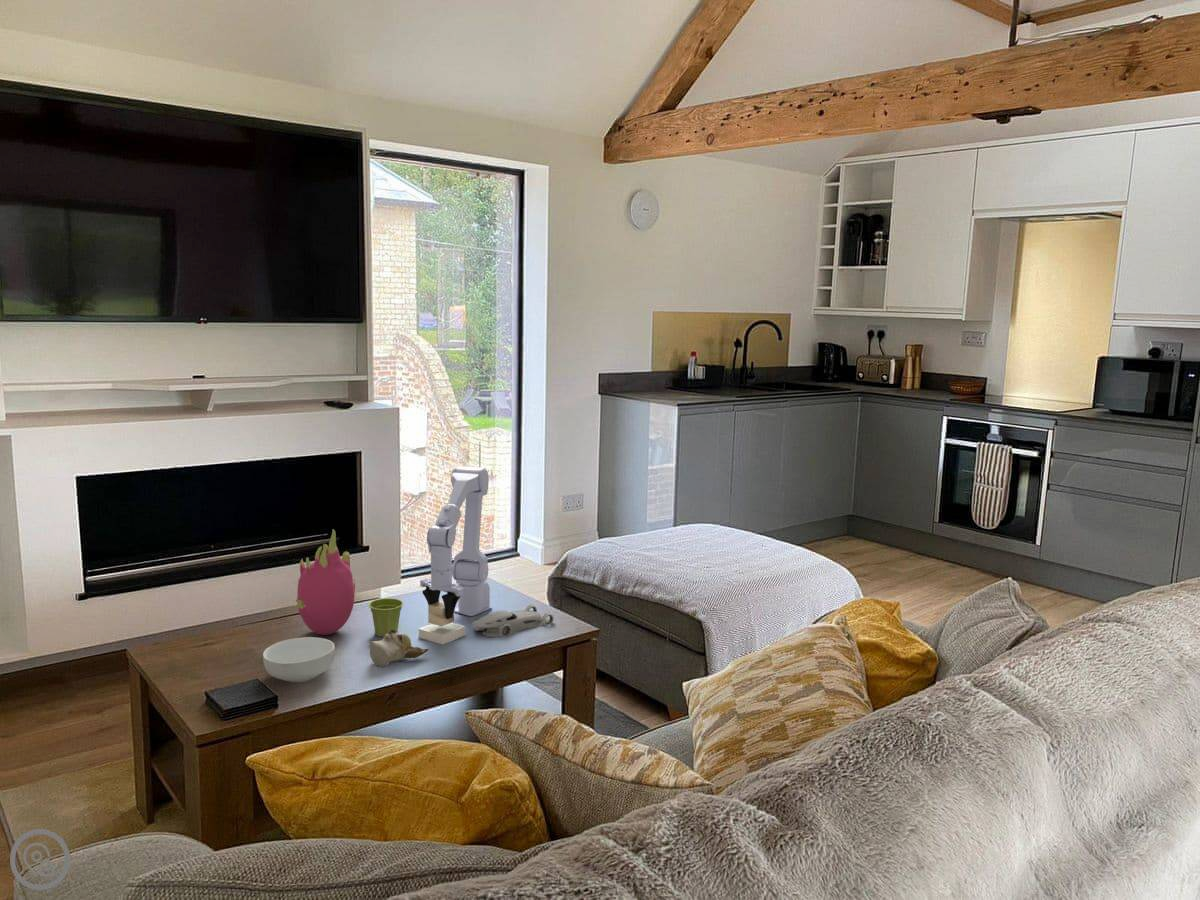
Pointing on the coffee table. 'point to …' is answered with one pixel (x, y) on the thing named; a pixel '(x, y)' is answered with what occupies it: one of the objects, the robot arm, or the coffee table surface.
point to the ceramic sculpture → (393, 649)
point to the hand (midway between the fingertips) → (441, 615)
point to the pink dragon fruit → (326, 590)
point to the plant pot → (385, 614)
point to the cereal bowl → (299, 658)
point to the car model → (510, 622)
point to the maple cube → (438, 614)
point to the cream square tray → (441, 632)
